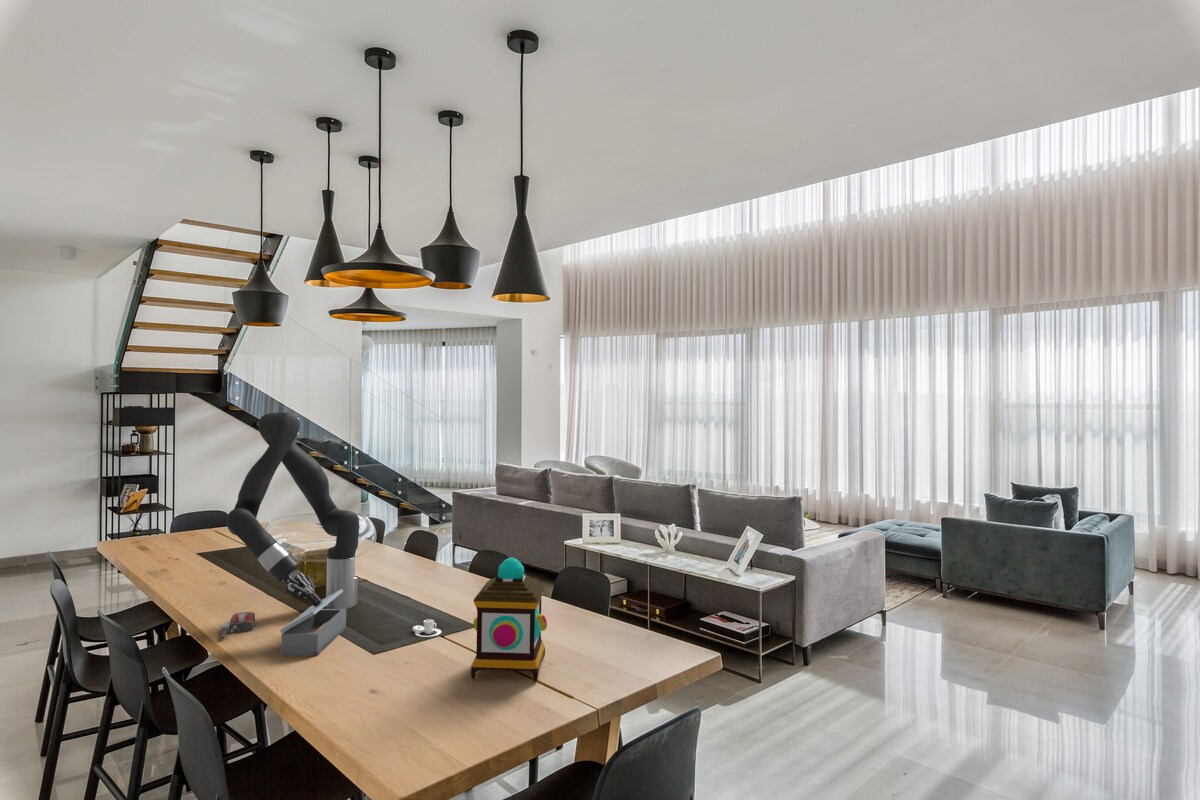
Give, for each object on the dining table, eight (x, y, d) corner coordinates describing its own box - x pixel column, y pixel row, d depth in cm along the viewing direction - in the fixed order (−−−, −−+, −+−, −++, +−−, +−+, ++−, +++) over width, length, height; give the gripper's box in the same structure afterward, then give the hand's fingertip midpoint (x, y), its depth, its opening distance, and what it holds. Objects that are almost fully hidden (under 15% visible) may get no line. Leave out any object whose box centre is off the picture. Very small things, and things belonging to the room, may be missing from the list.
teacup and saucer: (408, 633, 216) (408, 620, 216) (430, 627, 222) (430, 614, 222) (424, 640, 210) (424, 626, 210) (446, 634, 216) (446, 620, 216)
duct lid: (281, 633, 195) (279, 630, 195) (314, 608, 219) (312, 605, 219) (314, 614, 195) (312, 611, 195) (343, 591, 219) (341, 588, 219)
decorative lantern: (480, 654, 198) (482, 549, 198) (549, 656, 197) (551, 550, 198) (464, 683, 178) (466, 565, 178) (541, 685, 177) (543, 567, 178)
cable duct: (281, 655, 195) (281, 634, 195) (313, 627, 219) (314, 608, 219) (317, 655, 195) (317, 634, 195) (345, 628, 219) (346, 609, 219)
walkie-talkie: (225, 622, 223) (218, 642, 205) (225, 608, 223) (218, 627, 205) (255, 619, 227) (251, 639, 208) (256, 606, 227) (251, 624, 208)
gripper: (278, 558, 200) (319, 601, 200) (296, 548, 213) (336, 589, 214) (258, 576, 200) (300, 619, 200) (278, 565, 213) (318, 606, 213)
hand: (318, 604), depth 207 cm, fingers closed
